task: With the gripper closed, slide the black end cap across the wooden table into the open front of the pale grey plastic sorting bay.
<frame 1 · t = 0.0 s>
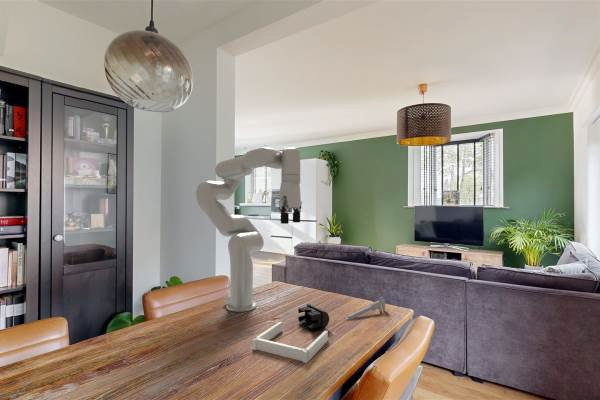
hand: (290, 222, 121), 37 cm above the table, tool pointing down, fingers open, 9 cm apart
sorting bay: (292, 344, 96), on the table
caliper: (365, 316, 122), on the table
end cap: (313, 327, 110), on the table
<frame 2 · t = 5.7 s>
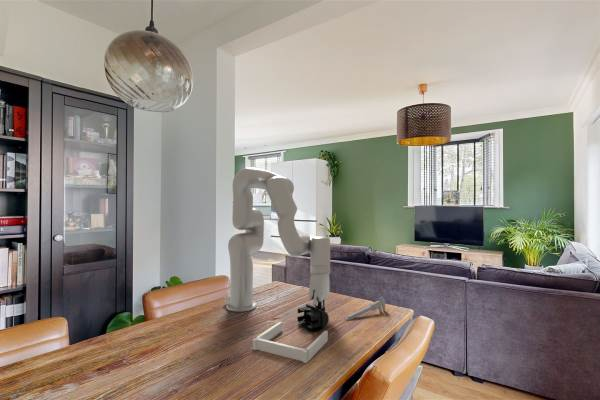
hand: (320, 317, 116), 1 cm above the table, tool pointing down, fingers closed
end cap: (312, 327, 110), on the table, touching gripper
everything else where it was.
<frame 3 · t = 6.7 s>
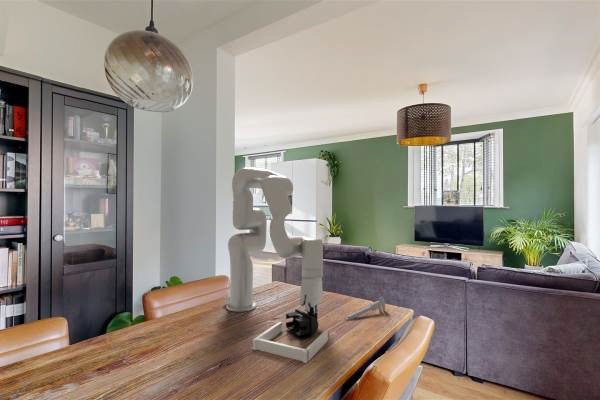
hand: (312, 324, 109), 1 cm above the table, tool pointing down, fingers closed
end cap: (301, 333, 104), on the table, touching gripper
everything else where it was.
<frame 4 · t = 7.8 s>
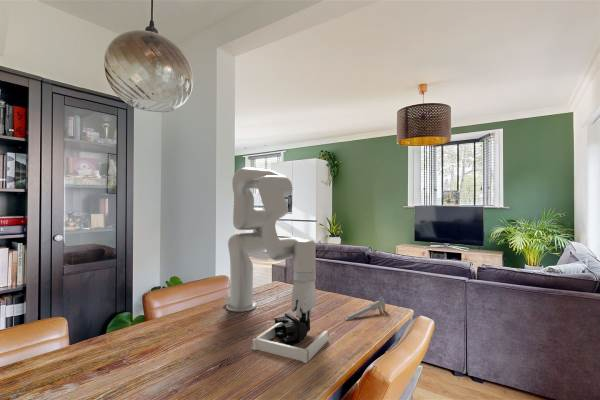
hand: (304, 330, 104), 1 cm above the table, tool pointing down, fingers closed
end cap: (290, 339, 100), on the table, touching gripper, sorting bay
everything else where it was.
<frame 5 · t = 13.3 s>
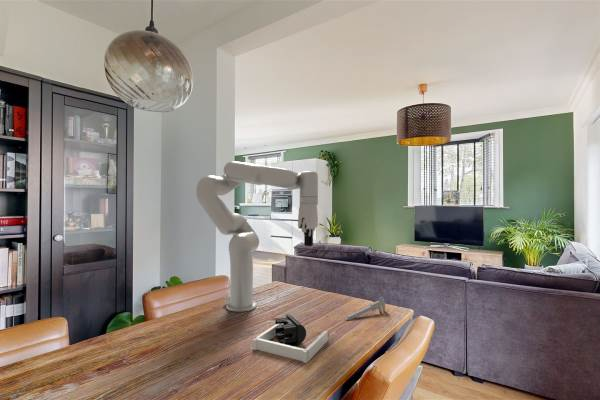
hand: (308, 245, 126), 27 cm above the table, tool pointing down, fingers closed
end cap: (290, 341, 99), on the table
everything else where it was.
at the end: end cap inside the target area on the sorting bay (3.6 cm from its centre), point 0.0 cm above the sorting bay's base; end cap tilted 0° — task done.
